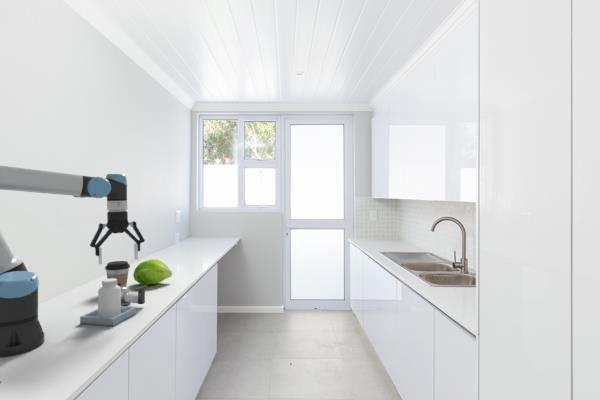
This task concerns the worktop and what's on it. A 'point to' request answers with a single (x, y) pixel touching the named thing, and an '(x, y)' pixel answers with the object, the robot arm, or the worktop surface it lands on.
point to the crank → (133, 295)
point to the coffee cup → (118, 271)
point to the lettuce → (151, 272)
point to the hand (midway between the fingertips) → (118, 261)
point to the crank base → (125, 303)
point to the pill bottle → (109, 299)
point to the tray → (103, 321)
